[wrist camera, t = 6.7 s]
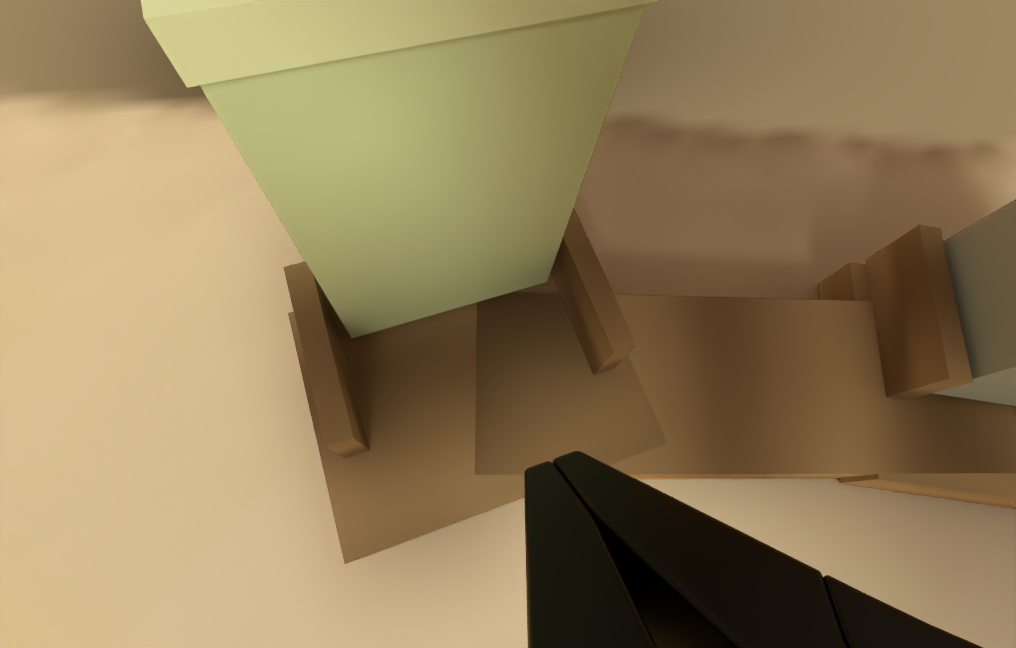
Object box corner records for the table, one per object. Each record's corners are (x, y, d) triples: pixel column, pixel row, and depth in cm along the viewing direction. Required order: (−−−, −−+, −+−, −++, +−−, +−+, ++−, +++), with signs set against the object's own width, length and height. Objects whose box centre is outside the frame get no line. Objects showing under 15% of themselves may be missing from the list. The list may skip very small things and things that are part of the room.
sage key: (551, 283, 14) (683, -66, 6) (348, 343, 13) (143, 18, 5) (502, 166, 16) (550, -261, 7) (314, 210, 15) (104, -232, 6)
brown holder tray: (1029, 262, 18) (1152, 205, 15) (1147, 524, 15) (1335, 524, 12) (312, 256, 16) (274, 188, 13) (278, 563, 13) (215, 577, 10)
